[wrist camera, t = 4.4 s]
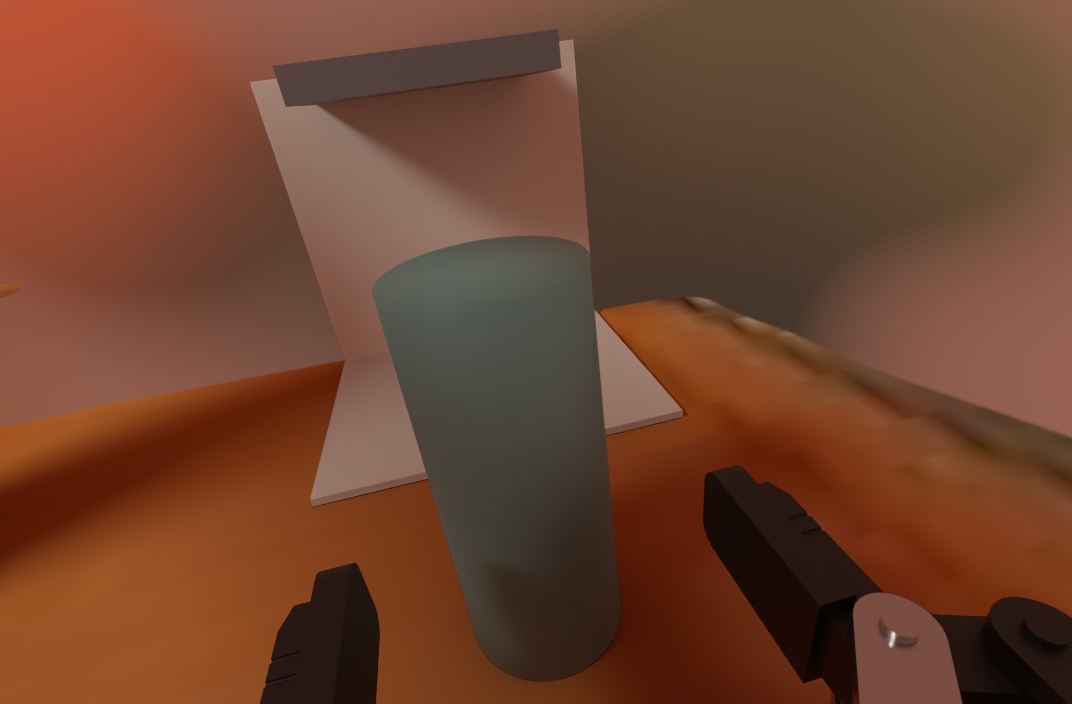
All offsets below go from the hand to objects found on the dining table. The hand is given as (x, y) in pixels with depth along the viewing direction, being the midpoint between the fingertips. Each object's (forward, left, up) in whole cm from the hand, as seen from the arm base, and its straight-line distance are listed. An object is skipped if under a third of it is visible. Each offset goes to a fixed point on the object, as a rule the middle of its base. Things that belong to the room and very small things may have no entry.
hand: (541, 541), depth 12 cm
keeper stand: (0, +19, -6) cm, 20 cm away
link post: (0, +3, -7) cm, 7 cm away
